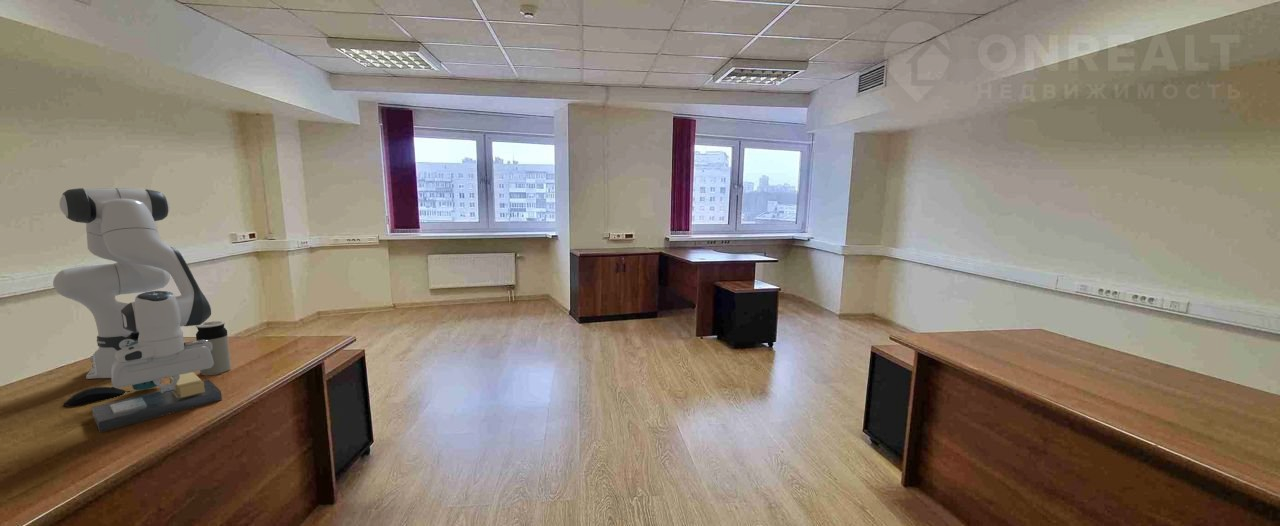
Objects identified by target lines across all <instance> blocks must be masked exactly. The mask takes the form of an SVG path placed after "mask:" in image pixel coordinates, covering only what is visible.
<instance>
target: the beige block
mask: <svg viewBox="0 0 1280 526" xmlns="http://www.w3.org/2000/svg"><path fill="white" fill-rule="evenodd" d="M179 376H180V379H179V380H178V382H177V383H176V385H175V388H176V390H175V391H176V392H177V393H178V394H179V395H180V397H181V398H182V397H186V396H190V395H194V394H198V393H202V392H205V388H204V382H203V381H204V380H202V379H201V378H200V377H199V376H198V375H197V374H196V373H195V372H190V373H186V374H181V375H179ZM168 378H169V384H171V382H172V381H173V379H172V377H168Z"/></svg>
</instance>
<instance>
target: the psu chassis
mask: <svg viewBox="0 0 1280 526" xmlns="http://www.w3.org/2000/svg"><path fill="white" fill-rule="evenodd" d="M202 381H203V382H204V388H205V392H202V393H198V394H194V395H190V396H186V397H182V398H181V397H180V395H179V394H178V393H177V392H176V391H175V390H173V391H169V392H165V393H161V392H160V390H159V391H154V392H151V393H146V394H142V395H141V394H140V395H138V396H134V397H129V398H125V399H120V400H117V401H116V400H115V401H112V402H108V403H103V404H100V405H95V406H92V407H91V410H92V417H93V419H94V421H95V424H96V426H97V428H98V431H99V433H103V432H107V431H110V430H113V429H114V430H115V429H118V428H121V426H122V427H126V426H129V424H130V425H133V424H136V423H141V422H144V420H145V421H148V420H151V418H152V419H155V417H156V418H159V416H160V417H163V416H166V414H167V415H170V414H169V413H171V414H174V413H173V412H175V413H179V412H182V411H185V409H186V410H189V409H188V408H190V409H193V408H192V407H194V408H197V407H201V406H204V404H205V405H208V404H209V405H210V404H213V403H216V402H219V401H222V400H223V398H222V392H221V390H220V389H219V388H218V387H217V386H216V385H215V384H214V383H213V382H212V381H211V380H210V379H206V380H202ZM200 405H201V406H200ZM196 406H197V407H196ZM181 410H182V411H181ZM162 415H163V416H162ZM147 419H148V420H147ZM140 421H141V422H140ZM125 425H126V426H125Z"/></svg>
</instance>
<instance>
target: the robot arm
mask: <svg viewBox="0 0 1280 526" xmlns="http://www.w3.org/2000/svg"><path fill="white" fill-rule="evenodd" d="M59 208H60V210H61V212H62V214H63V215H64V216H65V217H66V219H68V220H70V221H72V222H75V223H81V224H82V223H83V224H85V232H86V241H87V243H86V244H87V250H89V252H90V253H91V254H92V255H94V256H97V258H101V259H104V260H109V261H112V262H115V263H109V264H107V263H106V264H94V265H93V264H91V265H81V266H75V267H69V268H65V269H62V270H60V271H59V272H58V273H56V275H55V276H54V278H53V283H52V284H53V288H54V291H55V292H57V293H58V294H59V295H61V296H62V297H64V298H67V299H70V300H72V301H74V302H75V301H76V302H77V303H79V304H81V305H83V306H84V307H86V309H88V311H90V312H91V314H92V316H93V317H94V321H95V324H96V329H97V330H96V331H97V334H98V335H97V336H96V343H97V346H98V349H97V350H96V351H94V353H93V354H92V355H90V356H89V359H90V363H92V365H91V368H90V370H89V372H88V373H87V374H86V375H85V376H86V377H85V379H86V380H89V379H90V380H91V379H110V380H111V385H112V387H115V388H117V389H122V388H125V387H129V386H132V385H135V384H140V383H144V382H149V381H153V382H154V384H156V385H157V386H156V387H158V388H159V391H160V392H161V393H165V392H169V391H173V390H176V388H175V385H176V383H177V382H178V380H179V379H180V376H179V375H181V374H186V373H190V372H193V373H195V372H200V370H204V369H209V368H211V367H212V366H213V365H214V362H213V358H212V355H211V351H212V343H211V342H210V341H207V340H199V341H197V340H196V341H195V340H194V341H192V340H191V341H185V340H184V332H183V331H182V329H181V328H182V327H192V326H194V327H196V325H200V324H202V323H205V322H207V320H208V319H209V318H210V317H211V315H212V307H211V303H210V302H209V301H208V299H207V297H206V295H204V293H203V291H202V289H200V286H199V284H198V283H197V281H196V279H195V277H194V275H193V272H192V270H191V269H190V267H189V266H188V264H187V262H186V260H185V258H184V257H183V255H182V253H181V252H180V250H178V249H177V247H172V246H169V245H168V244H167V243H166V242H165V241H164V240H162V238H161V236H160V234H159V231H158V227H157V224H156V222H158V221H163V220H164V219H165V218H167V217H168V215H169V212H170V202H169V200H168V199H167V197H166V196H165V194H163V193H162V192H161V191H158V190H153V189H135V188H124V187H123V188H120V187H114V188H112V187H111V188H108V187H107V188H87V189H86V188H83V187H79V188H72V189H70V188H69V189H67V190H66V191H64V192H62V196H61V197H60V198H59ZM171 278H172V280H173V281H174V284H175V285H176V287H177V289H178V291H179V294H180V295H177V296H176V295H175V293H173V292H171V291H165V290H164V291H163V290H160V289H162V288H164V287H167V285H168V283H169V282H170V279H171ZM138 293H139V294H138ZM130 294H138V295H136V296H135V298H134V301H132V302H129V303H126V302H121V301H118V300H117V299H116V296H119V295H130ZM132 332H135V333H136V332H139V337H138V339H136V340H132V339H130V337H131V333H132ZM135 341H138V343H137V344H134V345H132V346H129V347H127V346H128V345H129V344H131V343H132V342H135ZM169 377H172V379H173V381H172V382H171V384H170V383H167V384H160V382H161V383H162V380H164V379H167V378H169Z"/></svg>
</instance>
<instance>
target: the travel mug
mask: <svg viewBox="0 0 1280 526" xmlns="http://www.w3.org/2000/svg"><path fill="white" fill-rule="evenodd" d="M225 324H226V321H223V320H216V321H215V320H214V321H213V320H212V321H205V322H203V323H202V324H200V325H195V328H196V329H197V332H196V333H195V339H196V341H199V340H207V341H210V342H211V343H212V351H211V355H212V358H213V362H214V365H213V366H212V367H211V368H209V369H204V370H200V371H199V372H200V375H202V376H212V375H213V376H215V375H218V374H222V373H225V372H228V371H230V370H231V369H232V363H231V356H230V355H231V354H230V353H231V352H230V343H229V336H228V330H227V328H226V327H225Z"/></svg>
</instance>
